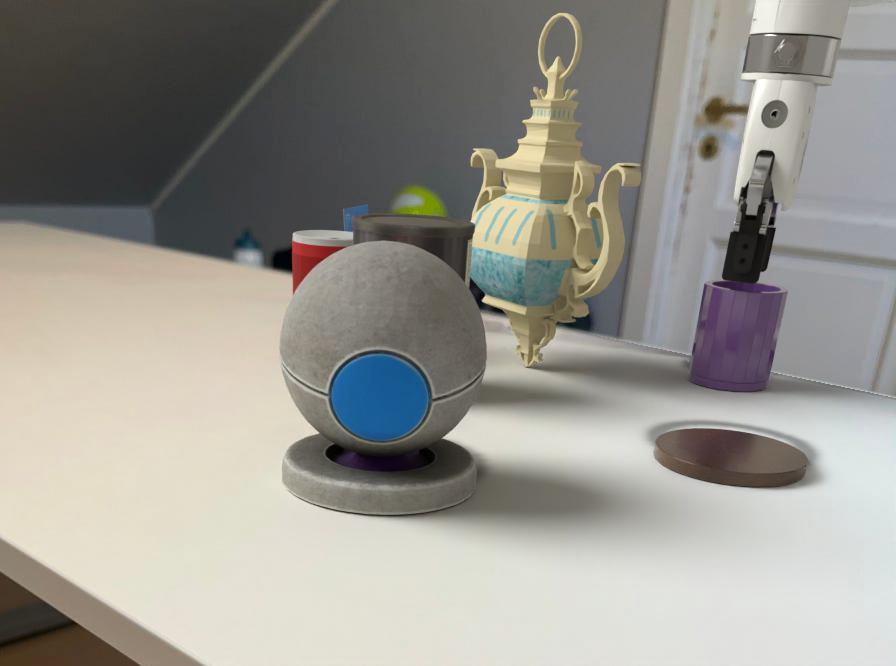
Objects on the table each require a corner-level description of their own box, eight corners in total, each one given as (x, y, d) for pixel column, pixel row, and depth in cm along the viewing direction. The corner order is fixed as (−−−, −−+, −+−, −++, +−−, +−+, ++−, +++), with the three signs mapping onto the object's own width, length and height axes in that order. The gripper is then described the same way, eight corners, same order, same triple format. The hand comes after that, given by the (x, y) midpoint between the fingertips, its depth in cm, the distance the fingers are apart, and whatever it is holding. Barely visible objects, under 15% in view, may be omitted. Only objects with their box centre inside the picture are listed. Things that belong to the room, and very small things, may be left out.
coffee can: (434, 410, 81) (444, 229, 75) (327, 391, 85) (328, 217, 78) (481, 386, 90) (494, 220, 83) (382, 369, 93) (387, 210, 87)
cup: (770, 379, 98) (790, 285, 94) (763, 395, 92) (785, 295, 87) (693, 369, 100) (710, 277, 96) (682, 384, 94) (699, 287, 90)
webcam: (471, 456, 71) (488, 235, 64) (481, 520, 60) (504, 261, 53) (293, 448, 71) (290, 225, 64) (270, 511, 59) (263, 249, 52)
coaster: (808, 454, 76) (811, 441, 75) (801, 497, 66) (805, 483, 66) (666, 432, 79) (668, 420, 78) (641, 471, 70) (643, 457, 69)
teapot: (651, 390, 91) (712, 11, 77) (552, 401, 86) (598, -3, 72) (508, 339, 109) (536, 24, 95) (419, 345, 104) (434, 13, 90)
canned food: (341, 361, 96) (342, 241, 91) (277, 348, 99) (275, 232, 94) (383, 348, 102) (387, 235, 96) (322, 337, 105) (322, 228, 100)
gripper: (833, 58, 75) (780, 291, 83) (837, 72, 89) (791, 270, 97) (733, 54, 77) (691, 281, 85) (752, 68, 91) (714, 262, 99)
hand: (744, 275), depth 91 cm, fingers open, 9 cm apart
